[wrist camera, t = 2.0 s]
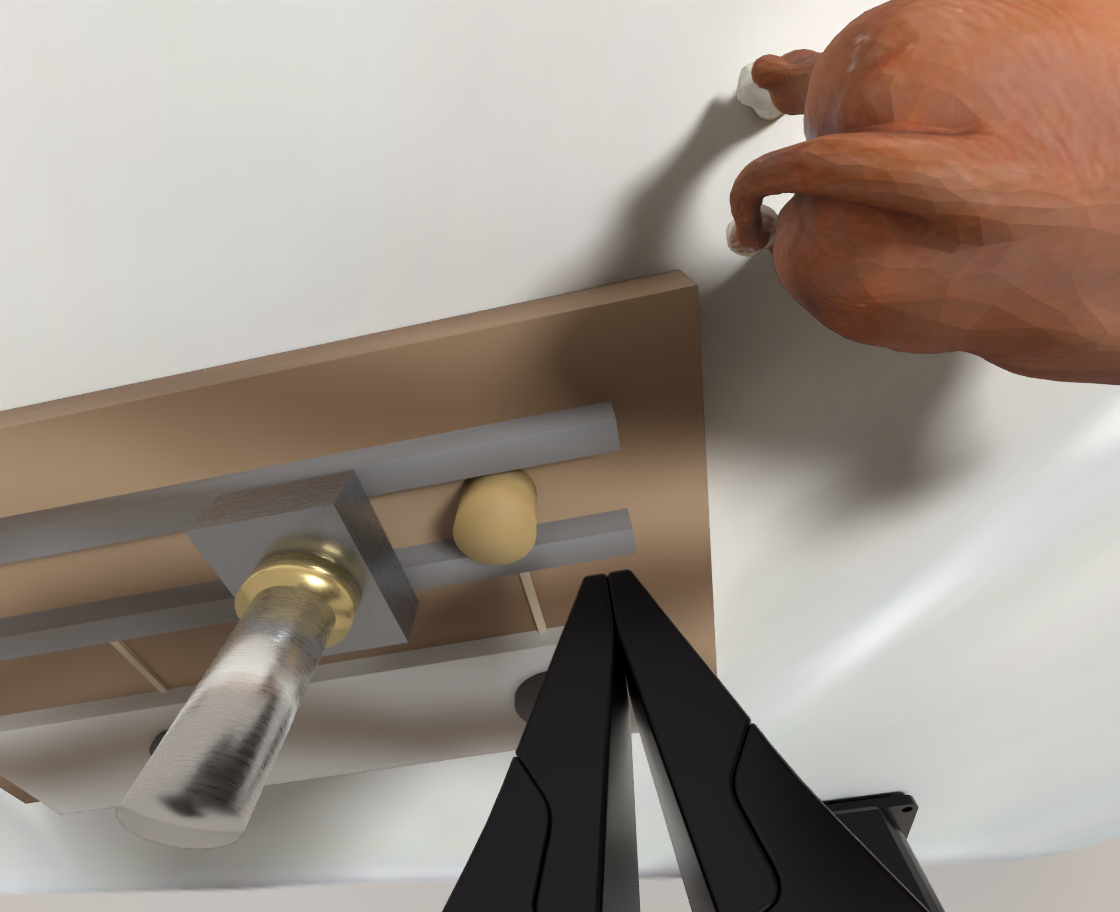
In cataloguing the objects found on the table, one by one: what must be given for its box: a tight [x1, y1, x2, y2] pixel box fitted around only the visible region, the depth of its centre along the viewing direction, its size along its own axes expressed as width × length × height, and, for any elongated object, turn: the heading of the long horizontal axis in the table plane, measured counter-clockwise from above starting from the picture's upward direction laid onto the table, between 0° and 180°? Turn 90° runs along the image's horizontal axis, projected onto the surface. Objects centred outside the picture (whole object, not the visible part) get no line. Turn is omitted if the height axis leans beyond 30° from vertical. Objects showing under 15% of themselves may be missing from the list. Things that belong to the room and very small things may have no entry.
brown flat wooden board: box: [0, 270, 717, 815], centre depth 14 cm, size 14×26×3 cm, turn 101°
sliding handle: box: [116, 470, 419, 849], centre depth 9 cm, size 4×3×5 cm
